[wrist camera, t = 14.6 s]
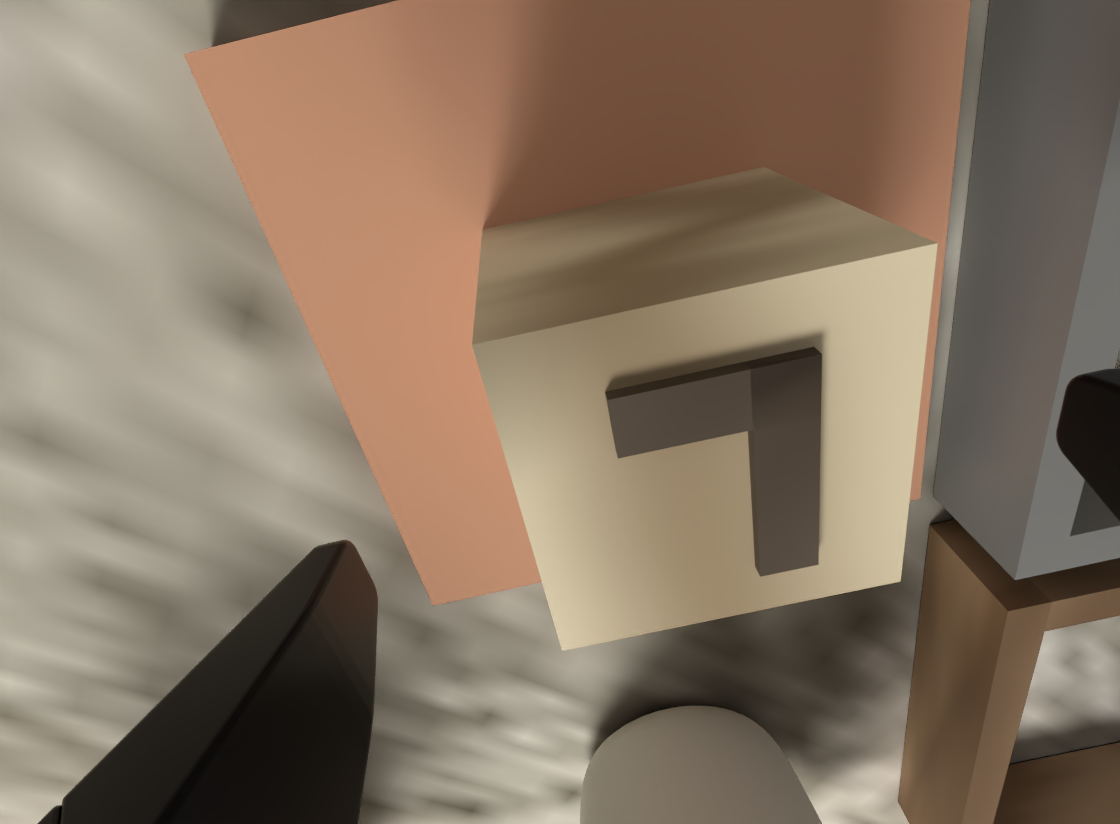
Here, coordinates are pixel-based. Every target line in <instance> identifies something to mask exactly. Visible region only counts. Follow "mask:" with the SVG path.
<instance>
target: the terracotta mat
mask: <svg viewBox="0 0 1120 824" xmlns="http://www.w3.org/2000/svg"><path fill="white" fill-rule="evenodd" d="M970 3H971V0H397V1H393V2H389V3H385V4H381V5H377V6H373V7H369V8H365V9H361V10H357V11H353V12H349V13H345V14H341V15H337V16H333V17H329V18H325V19H322V20H318V21H314V22H310V23H306V24H302V25H298V26H294V27H290V28H286V29H282V30H278V31H274V32H270V33H266V34H262V35H258V36H254V37H250V38H246V39H242V40H238V41H234V42H230V43H226V44H223V45H219V46H215V47H211V48H207V49H203V50H199V51H195V52H191V53H187V54H184V56H185V58H186V60H187V63H188V65H189V67H190V69H191V71H192V74H193V76H194V78H195V80H196V82H197V85H198V87H199V89H200V91H201V93H202V96H203V98H204V100H205V102H206V105H207V107H208V109H209V111H210V113H211V116H212V118H213V120H214V122H215V124H216V127H217V129H218V131H219V133H220V135H221V138H222V140H223V142H224V144H225V147H226V149H227V151H228V153H229V155H230V158H231V160H232V162H233V164H234V166H235V169H236V171H237V173H238V175H239V178H240V180H241V182H242V184H243V186H244V189H245V191H246V193H247V195H248V197H249V200H250V202H251V204H252V206H253V208H254V211H255V213H256V215H257V217H258V220H259V222H260V224H261V226H262V228H263V231H264V233H265V235H266V237H267V239H268V242H269V244H270V246H271V248H272V250H273V253H274V255H275V257H276V259H277V262H278V264H279V266H280V268H281V270H282V273H283V275H284V277H285V279H286V281H287V284H288V286H289V288H290V290H291V292H292V295H293V297H294V299H295V301H296V304H297V306H298V308H299V310H300V312H301V315H302V317H303V319H304V321H305V323H306V326H307V328H308V330H309V332H310V335H311V337H312V339H313V341H314V343H315V346H316V348H317V350H318V352H319V354H320V357H321V359H322V361H323V363H324V365H325V368H326V370H327V372H328V374H329V377H330V379H331V381H332V383H333V385H334V388H335V390H336V392H337V394H338V396H339V399H340V401H341V403H342V405H343V407H344V410H345V412H346V414H347V416H348V419H349V421H350V423H351V425H352V427H353V430H354V432H355V434H356V436H357V438H358V441H359V443H360V445H361V447H362V450H363V452H364V454H365V456H366V458H367V461H368V463H369V465H370V467H371V469H372V472H373V474H374V476H375V478H376V480H377V483H378V485H379V487H380V489H381V492H382V494H383V496H384V498H385V500H386V503H387V505H388V507H389V509H390V511H391V514H392V516H393V518H394V520H395V522H396V525H397V527H398V529H399V531H400V534H401V536H402V538H403V540H404V542H405V545H406V547H407V549H408V551H409V553H410V556H411V558H412V560H413V562H414V565H415V567H416V569H417V571H418V573H419V576H420V578H421V580H422V582H423V584H424V587H425V589H426V591H427V593H428V595H429V598H430V600H431V602H432V604H433V606H434V605H439V604H443V603H448V602H452V601H457V600H461V599H466V598H470V597H475V596H480V595H484V594H489V593H493V592H498V591H502V590H507V589H511V588H516V587H521V586H525V585H530V584H534V583H539V582H542V581H541V577H540V574H539V571H538V567H537V564H536V560H535V557H534V554H533V550H532V547H531V543H530V540H529V537H528V533H527V530H526V526H525V523H524V520H523V516H522V513H521V510H520V506H519V503H518V499H517V496H516V493H515V489H514V486H513V482H512V479H511V476H510V472H509V469H508V465H507V462H506V459H505V455H504V452H503V449H502V445H501V442H500V438H499V435H498V432H497V428H496V425H495V421H494V418H493V415H492V411H491V408H490V404H489V401H488V398H487V394H486V391H485V387H484V384H483V381H482V377H481V374H480V371H479V367H478V364H477V360H476V357H475V354H474V350H473V347H472V339H473V328H474V317H475V306H476V295H477V283H478V272H479V261H480V250H481V239H482V230H483V229H487V228H492V227H496V226H501V225H505V224H510V223H514V222H519V221H523V220H528V219H532V218H537V217H541V216H546V215H550V214H555V213H559V212H564V211H568V210H573V209H577V208H582V207H586V206H591V205H595V204H599V203H604V202H608V201H613V200H617V199H622V198H626V197H631V196H635V195H640V194H644V193H649V192H653V191H658V190H662V189H667V188H671V187H676V186H680V185H685V184H689V183H694V182H698V181H703V180H707V179H711V178H716V177H720V176H725V175H729V174H734V173H738V172H743V171H747V170H752V169H756V168H761V167H765V168H767V169H770V170H772V171H774V172H777V173H779V174H781V175H783V176H786V177H788V178H790V179H793V180H795V181H797V182H799V183H802V184H804V185H806V186H808V187H811V188H813V189H815V190H818V191H820V192H822V193H824V194H827V195H829V196H831V197H834V198H836V199H838V200H840V201H843V202H845V203H847V204H850V205H852V206H854V207H856V208H859V209H861V210H863V211H865V212H868V213H870V214H872V215H875V216H877V217H879V218H881V219H884V220H886V221H888V222H891V223H893V224H895V225H897V226H900V227H902V228H904V229H907V230H909V231H911V232H913V233H916V234H918V235H920V236H922V237H925V238H927V239H929V240H932V241H934V242H936V243H938V245H937V254H936V263H935V273H934V282H933V291H932V300H931V309H930V318H929V327H928V336H927V346H926V355H925V364H924V373H923V382H922V391H921V400H920V409H919V418H918V428H917V437H916V446H915V455H914V464H913V473H912V482H911V491H910V501H912V500H916V499H920V495H921V485H922V475H923V465H924V455H925V446H926V436H927V426H928V416H929V406H930V396H931V387H932V377H933V367H934V357H935V347H936V338H937V328H938V318H939V308H940V298H941V288H942V279H943V269H944V259H945V249H946V239H947V229H948V220H949V210H950V200H951V190H952V180H953V170H954V161H955V151H956V141H957V131H958V121H959V111H960V102H961V92H962V82H963V72H964V62H965V52H966V43H967V33H968V23H969V13H970Z"/></svg>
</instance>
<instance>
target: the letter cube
mask: <svg viewBox="0 0 1120 824" xmlns="http://www.w3.org/2000/svg"><path fill="white" fill-rule="evenodd" d="M937 245H938V243H936V242H934V241H932V240H929V239H927V238H925V237H922V236H920V235H918V234H916V233H913V232H911V231H909V230H907V229H904V228H902V227H900V226H897V225H895V224H893V223H891V222H888V221H886V220H884V219H881V218H879V217H877V216H875V215H872V214H870V213H868V212H865V211H863V210H861V209H859V208H856V207H854V206H852V205H850V204H847V203H845V202H843V201H840V200H838V199H836V198H834V197H831V196H829V195H827V194H824V193H822V192H820V191H818V190H815V189H813V188H811V187H808V186H806V185H804V184H802V183H799V182H797V181H795V180H793V179H790V178H788V177H786V176H783V175H781V174H779V173H777V172H774V171H772V170H770V169H767V168H765V167H761V168H756V169H752V170H747V171H743V172H738V173H734V174H729V175H725V176H720V177H716V178H711V179H707V180H703V181H698V182H694V183H689V184H685V185H680V186H676V187H671V188H667V189H662V190H658V191H653V192H649V193H644V194H640V195H635V196H631V197H626V198H622V199H617V200H613V201H608V202H604V203H599V204H595V205H591V206H586V207H582V208H577V209H573V210H568V211H564V212H559V213H555V214H550V215H546V216H541V217H537V218H532V219H528V220H523V221H519V222H514V223H510V224H505V225H501V226H496V227H492V228H487V229H483V230H482V239H481V250H480V261H479V272H478V283H477V295H476V306H475V317H474V328H473V339H472V347H473V350H474V354H475V357H476V360H477V364H478V367H479V371H480V374H481V377H482V381H483V384H484V387H485V391H486V394H487V398H488V401H489V404H490V408H491V411H492V415H493V418H494V421H495V425H496V428H497V432H498V435H499V438H500V442H501V445H502V449H503V452H504V455H505V459H506V462H507V465H508V469H509V472H510V476H511V479H512V482H513V486H514V489H515V493H516V496H517V499H518V503H519V506H520V510H521V513H522V516H523V520H524V523H525V526H526V530H527V533H528V537H529V540H530V543H531V547H532V550H533V554H534V557H535V560H536V564H537V567H538V571H539V574H540V577H541V581H542V584H543V587H544V591H545V594H546V598H547V601H548V604H549V608H550V611H551V615H552V618H553V621H554V625H555V628H556V632H557V635H558V638H559V642H560V645H561V648H562V651H565V650H569V649H574V648H579V647H584V646H589V645H594V644H599V643H604V642H608V641H613V640H618V639H623V638H628V637H633V636H638V635H642V634H647V633H652V632H657V631H662V630H667V629H672V628H677V627H681V626H686V625H691V624H696V623H701V622H706V621H711V620H716V619H720V618H725V617H730V616H735V615H740V614H745V613H750V612H754V611H759V610H764V609H769V608H774V607H779V606H784V605H789V604H793V603H798V602H803V601H808V600H813V599H818V598H823V597H828V596H832V595H837V594H842V593H847V592H852V591H857V590H862V589H866V588H871V587H876V586H881V585H886V584H891V583H896V582H901V574H902V564H903V555H904V546H905V537H906V528H907V519H908V510H909V501H910V491H911V482H912V473H913V464H914V455H915V446H916V437H917V428H918V418H919V409H920V400H921V391H922V382H923V373H924V364H925V355H926V346H927V336H928V327H929V318H930V309H931V300H932V291H933V282H934V273H935V263H936V254H937Z"/></svg>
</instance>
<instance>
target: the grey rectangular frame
mask: <svg viewBox="0 0 1120 824" xmlns="http://www.w3.org/2000/svg"><path fill="white" fill-rule="evenodd" d="M1119 350H1120V0H990V5H989V13H988V22H987V31H986V40H985V48H984V57H983V66H982V74H981V83H980V92H979V100H978V109H977V118H976V127H975V135H974V144H973V153H972V161H971V170H970V179H969V188H968V196H967V205H966V214H965V222H964V231H963V240H962V249H961V257H960V266H959V275H958V283H957V292H956V301H955V309H954V318H953V327H952V336H951V344H950V353H949V362H948V370H947V379H946V388H945V397H944V405H943V414H942V423H941V431H940V440H939V449H938V457H937V466H936V475H935V484H934V492H933V497H934V498H935V499H936V500H937V501H938V502H939V503H940V504H941V505H942V506H943V507H944V508H945V509H946V510H947V511H948V512H949V513H950V514H951V515H952V516H953V517H954V518H955V519H956V520H957V521H958V522H959V523H960V524H961V525H962V526H963V528H964V529H965V530H966V531H967V532H968V533H969V534H970V535H971V536H972V537H973V538H974V539H975V540H976V541H977V542H978V543H979V544H980V545H981V546H982V547H983V548H984V549H985V550H986V551H987V552H988V553H989V554H990V555H991V556H992V557H993V558H994V559H995V560H996V561H997V562H998V563H999V564H1000V565H1001V566H1002V568H1003V569H1004V570H1005V571H1006V572H1007V573H1008V574H1009V575H1010V576H1011V577H1012V578H1013V579H1014V580H1018V579H1023V578H1028V577H1032V576H1037V575H1042V574H1046V573H1051V572H1056V571H1060V570H1065V569H1070V568H1074V567H1079V566H1084V565H1088V564H1093V563H1098V562H1102V561H1107V560H1112V559H1116V558H1120V521H1119V520H1118V519H1117V518H1116V517H1115V516H1114V514H1113V513H1112V512H1111V511H1110V510H1109V508H1108V507H1107V506H1106V505H1105V504H1104V502H1103V501H1102V500H1101V499H1100V498H1099V496H1098V495H1097V494H1096V493H1095V492H1094V490H1093V489H1092V488H1091V487H1090V486H1089V484H1088V483H1087V482H1086V481H1085V480H1084V478H1083V477H1082V476H1081V475H1080V474H1079V472H1078V471H1077V470H1076V469H1075V468H1074V466H1073V465H1072V464H1071V463H1070V462H1069V460H1068V459H1067V458H1066V457H1065V456H1064V454H1063V453H1062V452H1061V450H1060V448H1059V446H1058V443H1057V440H1056V429H1057V425H1058V420H1059V416H1060V412H1061V407H1062V403H1063V398H1064V394H1065V390H1066V387H1067V384H1068V383H1069V382H1070V380H1071V379H1072V378H1074V377H1076V376H1078V375H1081V374H1085V373H1090V372H1094V371H1099V370H1103V369H1115V365H1116V361H1117V358H1118V354H1119Z"/></svg>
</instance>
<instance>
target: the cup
mask: <svg viewBox="0 0 1120 824" xmlns="http://www.w3.org/2000/svg"><path fill="white" fill-rule="evenodd" d="M580 824H822V823H821V821H820V819H819V817H818V815H817V813H816V811H815V809H814V807H813V805H812V804H811V802H810V800H809V798H808V796H807V794H806V792H805V790H804V788H803V786H802V784H801V783H800V781H799V779H798V777H797V775H796V773H795V772H794V770H793V768H792V766H791V764H790V763H789V761H788V759H787V758H786V756H785V754H784V753H783V751H782V750H781V749H780V747H779V746H778V744H777V743H776V742H775V740H774V739H773V738H772V737H771V736H770V735H769V734H768V733H767V732H766V731H765V730H764V729H763V728H762V727H761V726H760V725H758V724H757V723H756V722H754V721H753V720H751V719H750V718H748V717H746V716H744V715H742V714H739V713H737V712H734V711H731V710H728V709H724V708H719V707H713V706H680V707H674V708H669V709H664V710H659V711H656V712H653V713H650V714H648V715H645V716H642V717H639V718H637V719H635V720H634V721H632V722H630V723H628V724H626V725H624V726H623V727H621V728H620V729H618V730H617V731H615V732H614V733H613V734H611V735H610V736H609V737H608V738H607V739H606V740H605V741H604V742H603V743H602V744H601V745H600V747H599V748H598V749H597V751H596V752H595V754H594V755H593V757H592V759H591V761H590V763H589V765H588V768H587V771H586V774H585V777H584V782H583V788H582V795H581V810H580Z"/></svg>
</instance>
